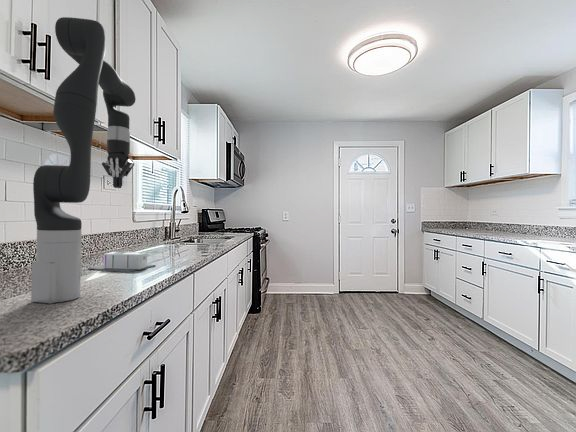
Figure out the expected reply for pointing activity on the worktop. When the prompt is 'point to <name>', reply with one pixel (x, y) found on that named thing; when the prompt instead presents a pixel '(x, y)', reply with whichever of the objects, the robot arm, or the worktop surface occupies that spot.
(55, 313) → the worktop surface
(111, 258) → the syrup box
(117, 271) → the mat
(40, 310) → the worktop surface
